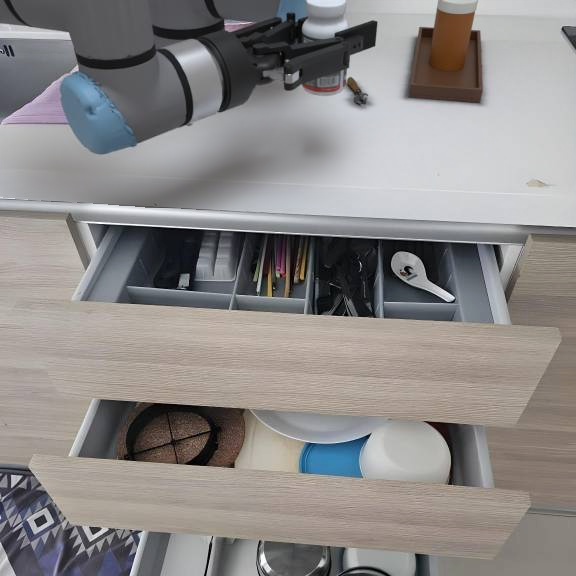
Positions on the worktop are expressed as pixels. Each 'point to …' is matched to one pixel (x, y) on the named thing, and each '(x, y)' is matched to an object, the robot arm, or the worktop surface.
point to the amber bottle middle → (452, 34)
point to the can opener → (357, 91)
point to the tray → (446, 72)
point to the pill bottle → (322, 25)
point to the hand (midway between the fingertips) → (355, 26)
